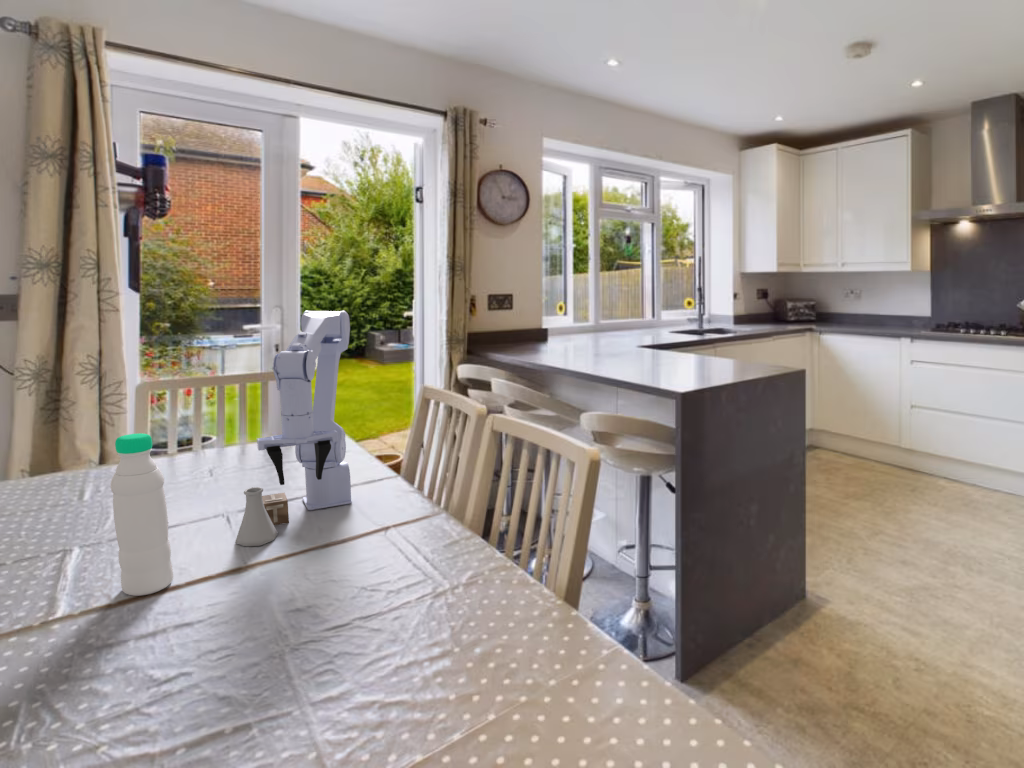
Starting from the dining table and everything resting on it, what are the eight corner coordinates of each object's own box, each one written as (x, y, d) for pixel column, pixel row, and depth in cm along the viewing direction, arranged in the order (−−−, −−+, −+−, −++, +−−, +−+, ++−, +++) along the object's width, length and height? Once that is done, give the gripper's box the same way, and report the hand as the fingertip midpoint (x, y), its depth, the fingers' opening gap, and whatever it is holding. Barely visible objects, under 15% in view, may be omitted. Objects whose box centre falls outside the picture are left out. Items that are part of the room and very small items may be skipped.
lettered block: (285, 514, 122) (284, 491, 121) (289, 523, 117) (287, 499, 117) (260, 519, 120) (258, 495, 119) (262, 528, 115) (261, 503, 114)
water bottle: (161, 571, 97) (147, 428, 93) (182, 583, 93) (168, 434, 89) (114, 588, 91) (97, 437, 87) (134, 602, 87) (117, 444, 83)
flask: (262, 549, 106) (258, 498, 104) (227, 545, 107) (223, 495, 105) (284, 533, 113) (282, 484, 111) (252, 530, 114) (248, 482, 112)
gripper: (257, 420, 103) (262, 492, 105) (339, 413, 110) (342, 481, 112) (254, 413, 109) (259, 481, 111) (332, 406, 116) (335, 471, 118)
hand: (300, 480), depth 112 cm, fingers open, 6 cm apart
